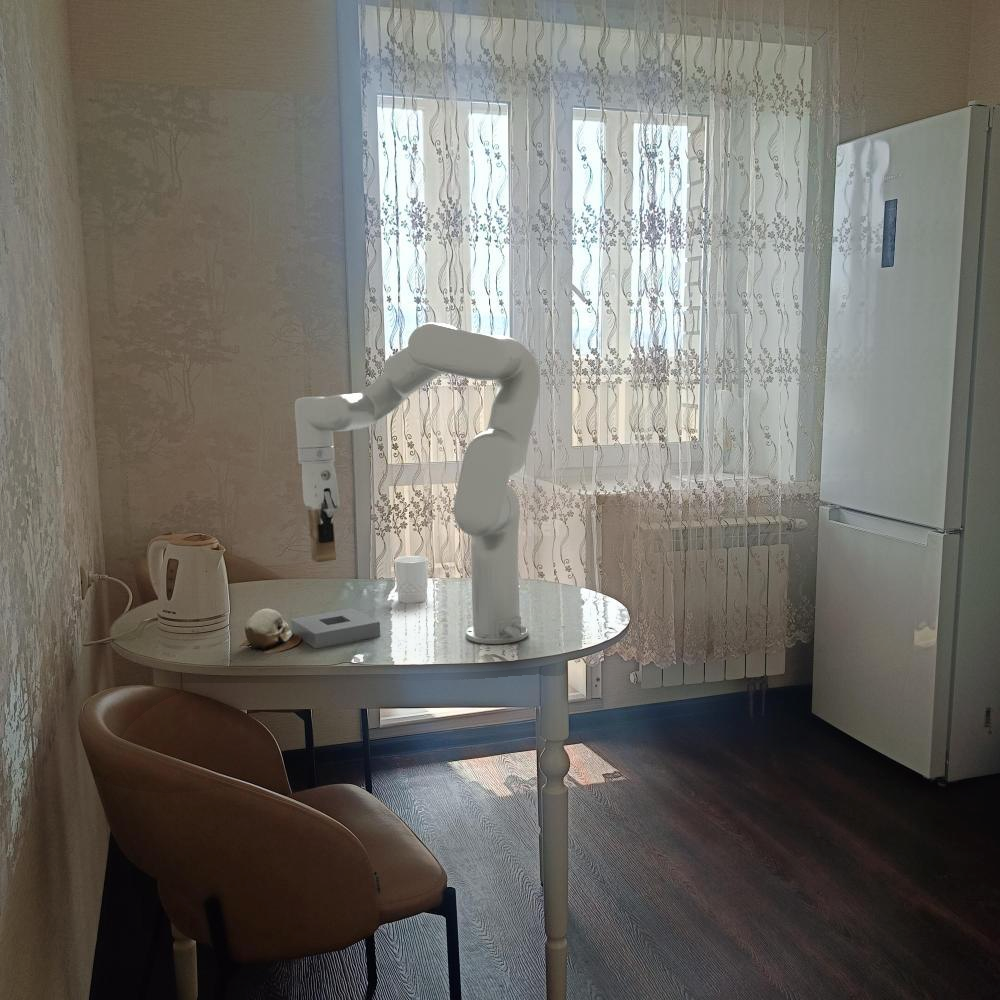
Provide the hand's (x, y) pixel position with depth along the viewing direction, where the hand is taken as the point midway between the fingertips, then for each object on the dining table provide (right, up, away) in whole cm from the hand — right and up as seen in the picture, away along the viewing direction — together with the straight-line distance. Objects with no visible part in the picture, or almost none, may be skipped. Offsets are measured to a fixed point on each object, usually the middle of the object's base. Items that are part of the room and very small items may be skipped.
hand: (322, 539), depth 194 cm
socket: (+4, -20, -5) cm, 20 cm away
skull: (-8, -21, -10) cm, 25 cm away
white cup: (+17, -16, +22) cm, 32 cm away
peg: (0, -4, +1) cm, 4 cm away
